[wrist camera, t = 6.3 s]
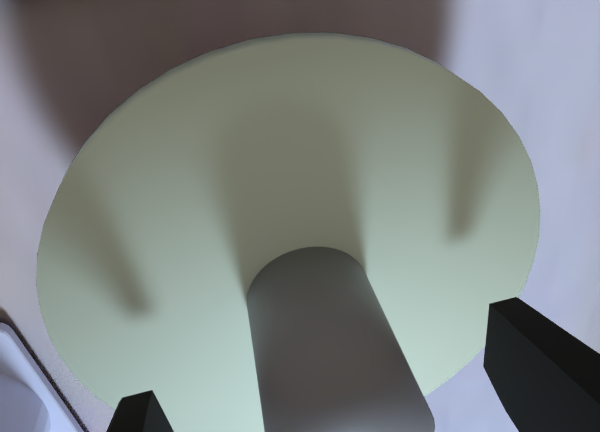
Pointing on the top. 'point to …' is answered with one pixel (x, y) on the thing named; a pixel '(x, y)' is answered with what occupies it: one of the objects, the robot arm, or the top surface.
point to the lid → (288, 238)
